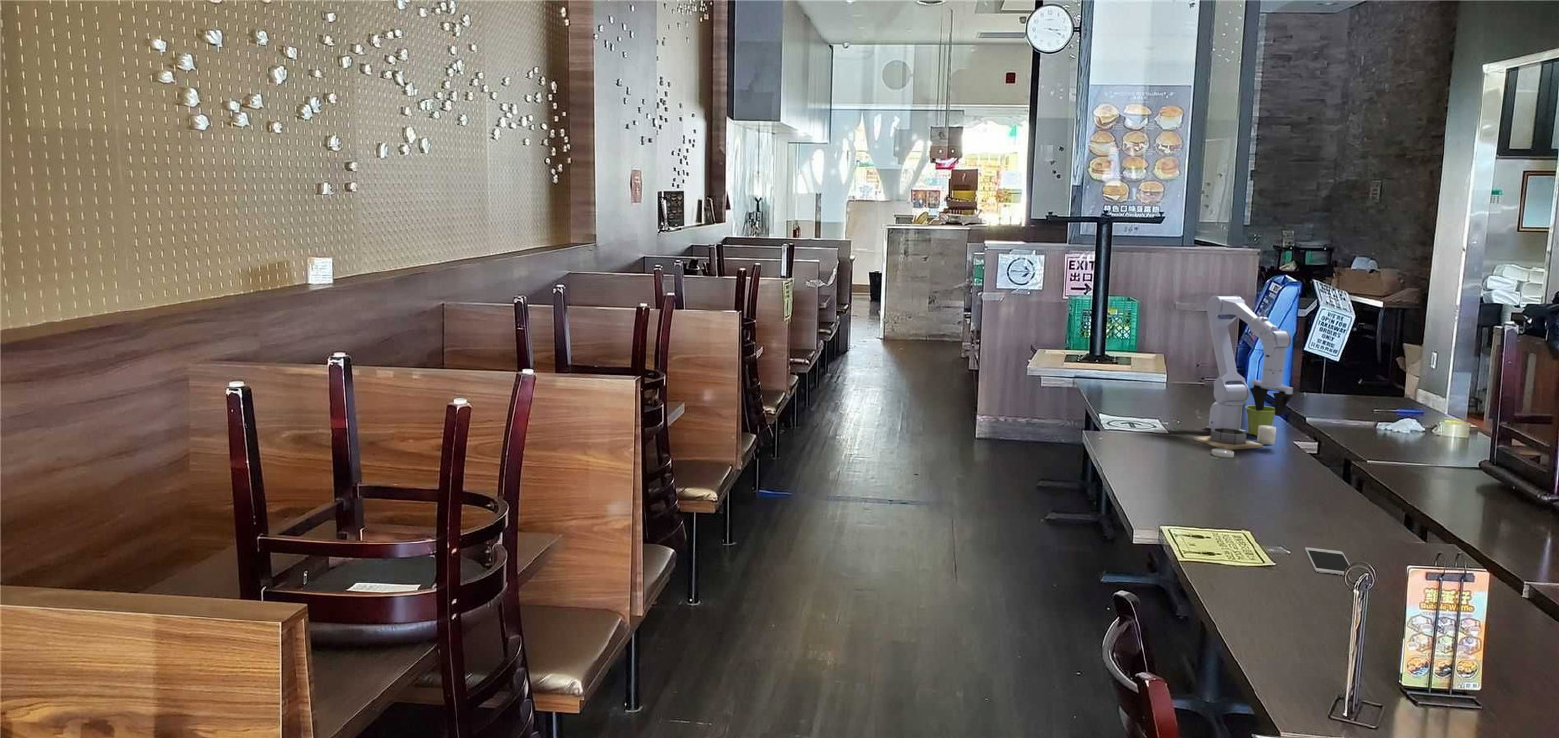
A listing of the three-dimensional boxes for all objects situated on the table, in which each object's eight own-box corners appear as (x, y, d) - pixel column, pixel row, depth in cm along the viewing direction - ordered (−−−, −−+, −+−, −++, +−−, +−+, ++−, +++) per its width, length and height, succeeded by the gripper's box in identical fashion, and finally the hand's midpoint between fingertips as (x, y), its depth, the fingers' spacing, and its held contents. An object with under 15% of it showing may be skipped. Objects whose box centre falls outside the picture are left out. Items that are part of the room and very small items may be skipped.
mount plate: (1193, 439, 327) (1193, 437, 327) (1228, 437, 332) (1229, 434, 332) (1226, 449, 314) (1226, 447, 314) (1262, 447, 319) (1263, 444, 319)
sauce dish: (1206, 454, 309) (1207, 449, 309) (1223, 453, 311) (1223, 448, 311) (1221, 459, 303) (1222, 454, 303) (1238, 457, 306) (1238, 452, 305)
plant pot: (1278, 438, 332) (1281, 411, 330) (1247, 436, 333) (1250, 410, 332) (1269, 432, 341) (1272, 406, 339) (1239, 430, 342) (1241, 404, 341)
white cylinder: (1253, 441, 327) (1254, 425, 326) (1265, 440, 329) (1267, 425, 328) (1265, 445, 322) (1267, 429, 321) (1278, 444, 324) (1279, 428, 323)
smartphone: (1341, 555, 221) (1342, 551, 221) (1355, 579, 207) (1356, 574, 206) (1304, 551, 223) (1304, 546, 223) (1315, 574, 209) (1315, 570, 209)
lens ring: (1203, 438, 326) (1204, 428, 325) (1228, 436, 329) (1229, 427, 328) (1226, 445, 316) (1227, 435, 316) (1253, 443, 320) (1253, 434, 319)
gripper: (1245, 366, 327) (1240, 408, 329) (1281, 373, 314) (1277, 418, 316) (1262, 365, 329) (1258, 408, 332) (1299, 373, 316) (1295, 417, 318)
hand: (1268, 413), depth 324 cm, fingers open, 7 cm apart
